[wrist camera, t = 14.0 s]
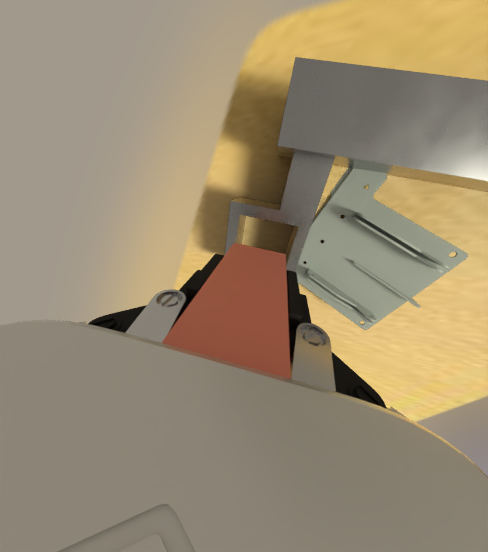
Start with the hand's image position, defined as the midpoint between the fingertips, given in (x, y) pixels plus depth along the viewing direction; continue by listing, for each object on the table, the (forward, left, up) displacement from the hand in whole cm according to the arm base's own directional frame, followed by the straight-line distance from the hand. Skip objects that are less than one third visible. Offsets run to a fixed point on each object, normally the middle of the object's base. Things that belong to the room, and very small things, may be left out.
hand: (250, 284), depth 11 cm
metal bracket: (-1, -10, -12) cm, 16 cm away
